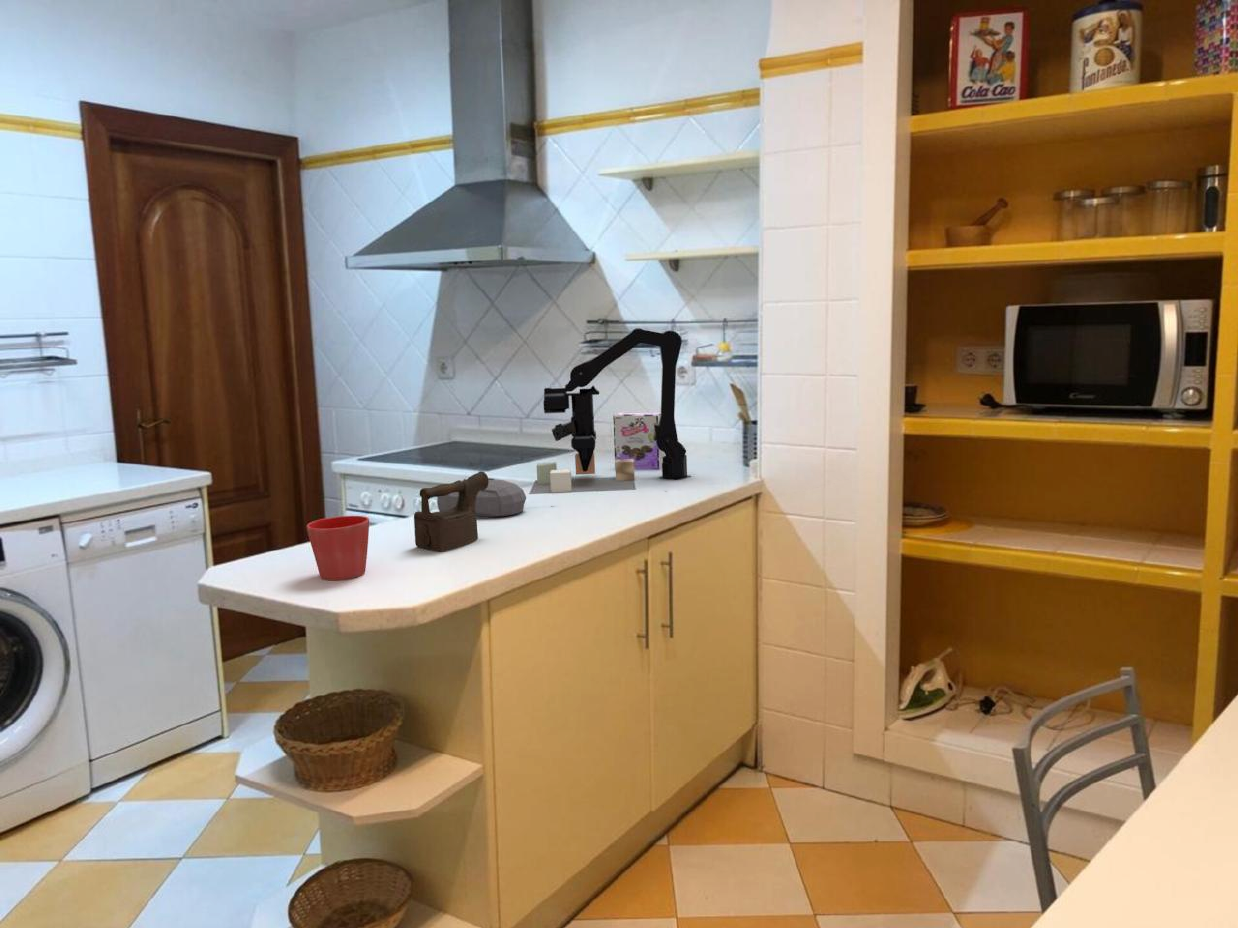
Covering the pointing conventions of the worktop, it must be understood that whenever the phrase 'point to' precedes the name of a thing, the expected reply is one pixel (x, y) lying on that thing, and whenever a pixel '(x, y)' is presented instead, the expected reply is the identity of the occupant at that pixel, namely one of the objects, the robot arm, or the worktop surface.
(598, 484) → the slate mat
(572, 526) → the worktop surface
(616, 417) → the candy box
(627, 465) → the beech block
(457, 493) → the soft grey pack
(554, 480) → the taupe block
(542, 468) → the sage block
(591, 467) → the terracotta block
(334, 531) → the flower pot
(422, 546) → the clothes iron
